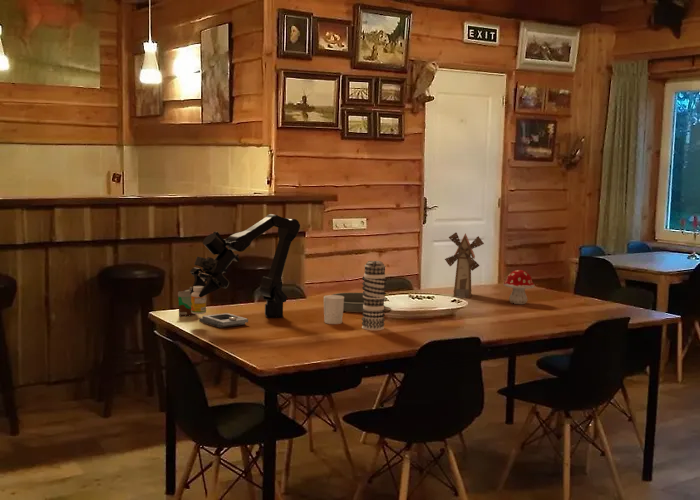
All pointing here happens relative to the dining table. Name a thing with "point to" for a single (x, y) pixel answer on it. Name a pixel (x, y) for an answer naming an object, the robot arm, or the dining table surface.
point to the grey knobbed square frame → (223, 320)
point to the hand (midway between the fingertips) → (195, 295)
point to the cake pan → (353, 301)
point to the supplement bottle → (198, 301)
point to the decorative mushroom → (518, 286)
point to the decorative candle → (373, 295)
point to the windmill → (463, 264)
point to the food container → (185, 303)
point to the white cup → (333, 309)
